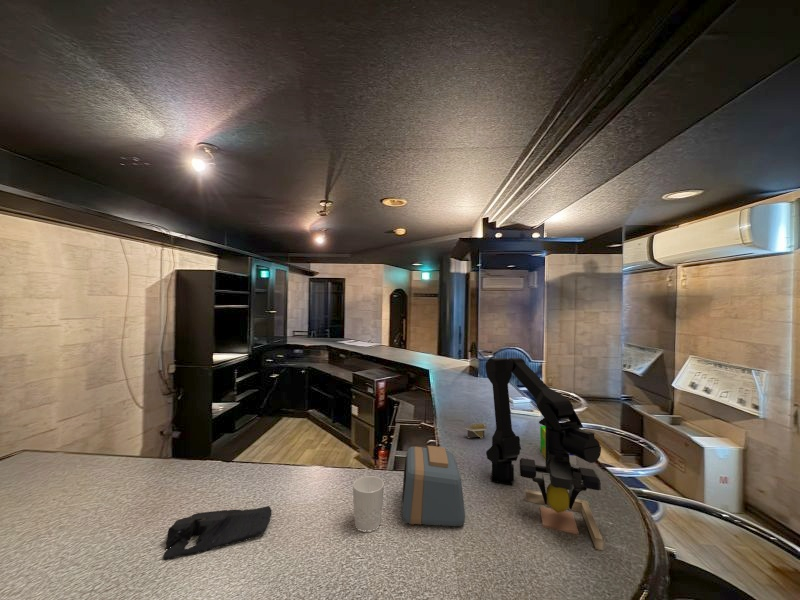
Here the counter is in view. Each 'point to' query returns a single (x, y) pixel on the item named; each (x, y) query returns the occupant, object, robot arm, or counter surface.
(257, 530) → the black flat piece
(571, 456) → the puzzle toy
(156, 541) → the counter surface
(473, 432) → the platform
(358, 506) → the white cup
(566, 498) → the lemon
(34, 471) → the counter surface
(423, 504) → the grey taped box
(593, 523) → the wooden corner frame
